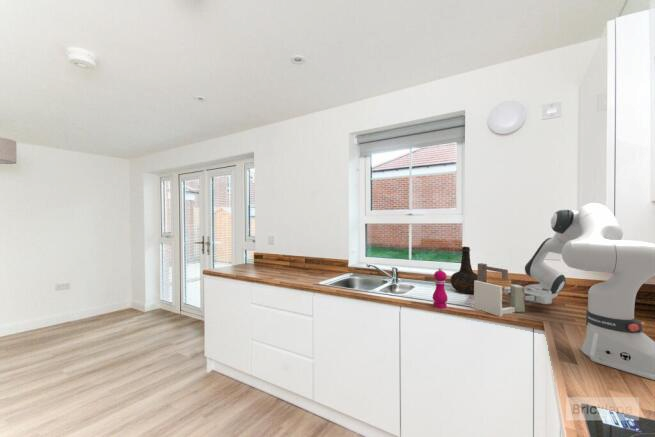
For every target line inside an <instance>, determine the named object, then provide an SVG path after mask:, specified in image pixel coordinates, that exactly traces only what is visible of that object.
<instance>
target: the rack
mask: <svg viewBox="0 0 655 437" xmlns="http://www.w3.org/2000/svg"><path fill="white" fill-rule="evenodd" d="M475 308H476V309H475ZM473 309H475V310H478V309H479V311H481V310H482V311H481V312H484V311H485V312H484V313H487V312H488V314H491V315H494V316H496V317H500V318H502V316H504V315H503V314H506V313H511V314H513V313H512V312H515V308H514V307H510V306H509V307H503V286H502V285H497V284H493V283H488V282H487V283H485V282H480V281H474V293H473ZM515 313H516V312H515ZM506 315H507V314H506Z"/></svg>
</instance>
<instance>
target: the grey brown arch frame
mask: <svg viewBox="0 0 655 437" xmlns="http://www.w3.org/2000/svg"><path fill="white" fill-rule="evenodd" d="M487 271H491V272H496V273H501V279H502V280H508V278H509V277H508V276H509V275H508V274H509V273H508V272H509V270H508V269H505V268H499V267H494V266H488V264H487V263H482V262H481V263H477V275H478V281H480V282H485V283H488V282H487V277H488V275H487V274H488V272H487Z"/></svg>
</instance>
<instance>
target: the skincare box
mask: <svg viewBox="0 0 655 437" xmlns="http://www.w3.org/2000/svg"><path fill="white" fill-rule="evenodd" d="M509 287H510V296H509V307H514V308H515V313H516V312H517V313H525V309H526V308H525V306H526V305H525V301H526V300H524V296H525V286H522V285H520V284H510V285H509Z"/></svg>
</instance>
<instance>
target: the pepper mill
mask: <svg viewBox="0 0 655 437" xmlns="http://www.w3.org/2000/svg"><path fill="white" fill-rule="evenodd" d="M433 274H434V275H433V277H434V283H435V290H434V292H433V294H432V300H433V303H432V304H433V307H435V309H436V308H437V309H447V302H448V294H447V292H446V290H445V289H446V288H445V284H446V279H447V273H446V272H445V271H443V268H442V267H439V268H438V270H436V271H435V272H434V273H433Z"/></svg>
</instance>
